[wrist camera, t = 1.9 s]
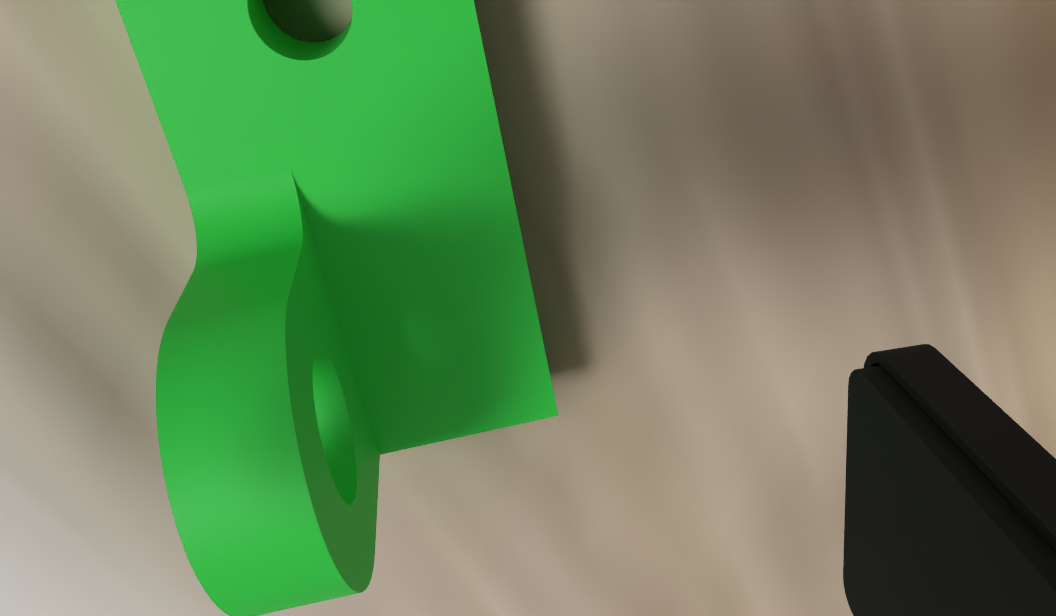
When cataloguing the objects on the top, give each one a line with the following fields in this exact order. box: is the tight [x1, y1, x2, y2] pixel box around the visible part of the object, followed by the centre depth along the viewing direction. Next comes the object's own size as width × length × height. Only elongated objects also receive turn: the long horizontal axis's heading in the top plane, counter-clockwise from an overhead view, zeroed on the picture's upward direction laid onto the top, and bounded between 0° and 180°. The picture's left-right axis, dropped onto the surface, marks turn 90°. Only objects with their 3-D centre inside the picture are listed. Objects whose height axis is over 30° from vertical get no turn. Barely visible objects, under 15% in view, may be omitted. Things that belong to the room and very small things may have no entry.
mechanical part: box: [116, 0, 558, 616], centre depth 16 cm, size 12×6×8 cm, turn 11°
